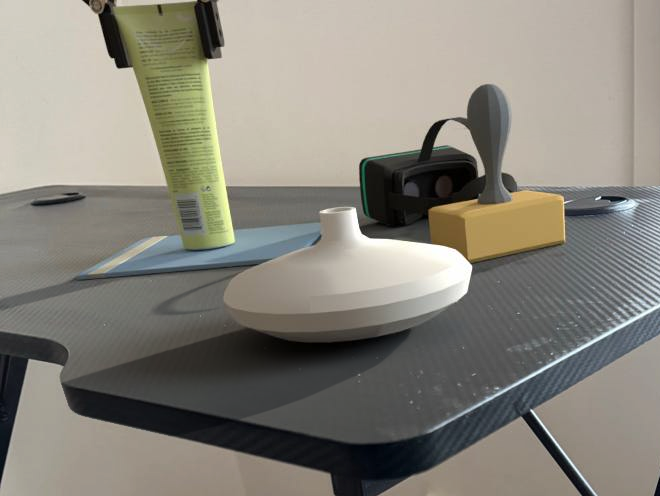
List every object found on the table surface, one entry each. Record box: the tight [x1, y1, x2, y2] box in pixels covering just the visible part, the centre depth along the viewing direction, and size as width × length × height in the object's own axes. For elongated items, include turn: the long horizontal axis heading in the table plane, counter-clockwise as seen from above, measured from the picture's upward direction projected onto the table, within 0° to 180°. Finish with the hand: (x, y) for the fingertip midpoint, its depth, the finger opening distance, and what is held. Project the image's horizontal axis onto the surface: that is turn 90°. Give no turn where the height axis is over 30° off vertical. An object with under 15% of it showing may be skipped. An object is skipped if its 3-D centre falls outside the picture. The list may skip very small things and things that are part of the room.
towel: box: [76, 221, 322, 281], centre depth 90 cm, size 20×18×1 cm
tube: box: [112, 0, 235, 250], centre depth 84 cm, size 6×5×20 cm
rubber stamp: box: [428, 83, 566, 264], centre depth 74 cm, size 10×6×12 cm, turn 120°
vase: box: [222, 206, 473, 343], centre depth 58 cm, size 16×16×7 cm
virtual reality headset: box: [358, 116, 518, 227], centre depth 89 cm, size 11×17×10 cm, turn 31°
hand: (169, 61), depth 81 cm, fingers closed on tube, 7 cm apart
